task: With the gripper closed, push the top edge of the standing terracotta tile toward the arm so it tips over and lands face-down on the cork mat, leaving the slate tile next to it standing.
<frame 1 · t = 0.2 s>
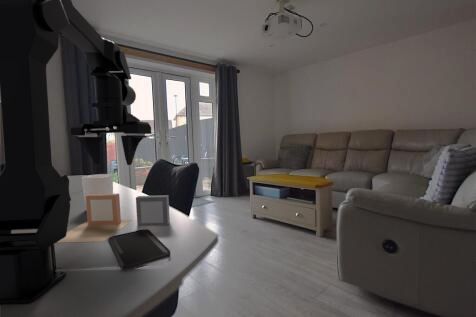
hand: (113, 164, 60), 14 cm above the table, tool pointing down, fingers open, 9 cm apart
cork mat: (94, 231, 55), on the table
slate tile: (153, 226, 58), on the table
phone: (137, 251, 46), on the table
terracotta tile: (104, 223, 59), resting on cork mat
white cup: (99, 210, 73), on the table
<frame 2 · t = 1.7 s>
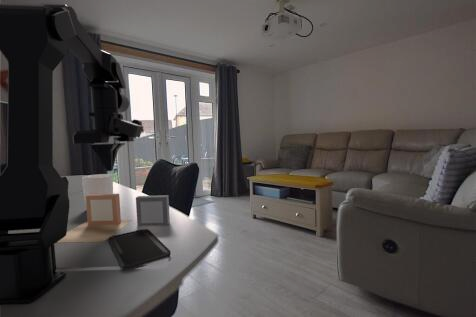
hand: (109, 170, 63), 12 cm above the table, tool pointing down, fingers closed
nothing on the table moved.
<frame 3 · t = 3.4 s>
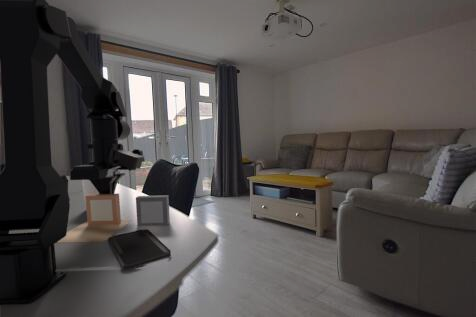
hand: (108, 203, 61), 5 cm above the table, tool pointing down, fingers closed
terracotta tile: (104, 223, 59), resting on cork mat, touching gripper
everything else where it was.
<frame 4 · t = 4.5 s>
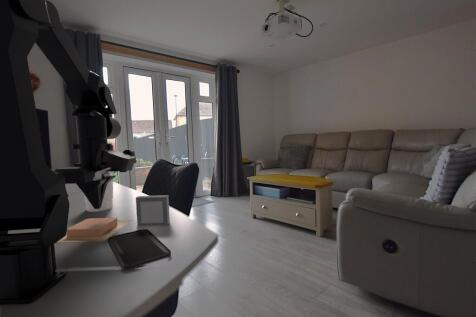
hand: (97, 208, 56), 5 cm above the table, tool pointing down, fingers closed
terracotta tile: (102, 221, 58), point 1 cm above the table, tilted 90°, touching cork mat
everything else where it was.
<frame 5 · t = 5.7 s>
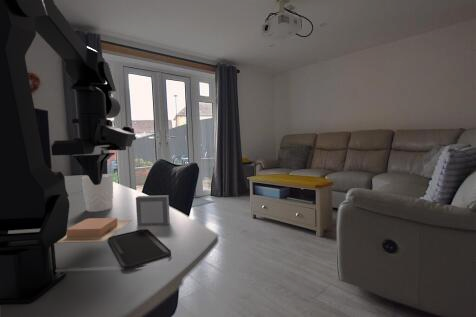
hand: (97, 184, 56), 10 cm above the table, tool pointing down, fingers closed
nothing on the table moved.
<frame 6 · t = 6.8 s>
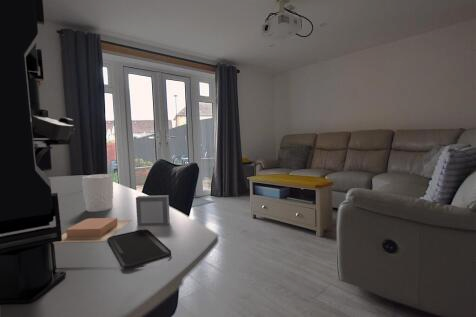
hand: (29, 181, 51), 12 cm above the table, tool pointing down, fingers closed
nothing on the table moved.
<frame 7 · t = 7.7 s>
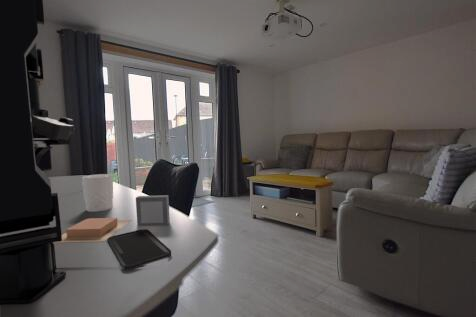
hand: (29, 181, 51), 12 cm above the table, tool pointing down, fingers closed
nothing on the table moved.
at the end: terracotta tile tilted 90°; terracotta tile inside the target area (3.1 cm from its centre), point 1.2 cm above the table; slate tile tilted 0° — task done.
